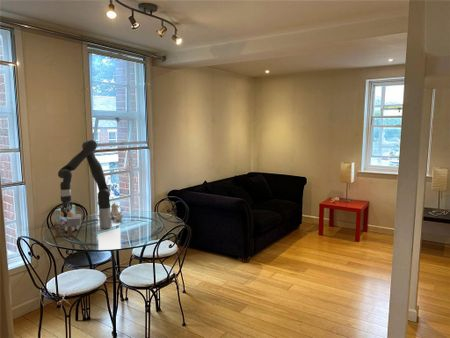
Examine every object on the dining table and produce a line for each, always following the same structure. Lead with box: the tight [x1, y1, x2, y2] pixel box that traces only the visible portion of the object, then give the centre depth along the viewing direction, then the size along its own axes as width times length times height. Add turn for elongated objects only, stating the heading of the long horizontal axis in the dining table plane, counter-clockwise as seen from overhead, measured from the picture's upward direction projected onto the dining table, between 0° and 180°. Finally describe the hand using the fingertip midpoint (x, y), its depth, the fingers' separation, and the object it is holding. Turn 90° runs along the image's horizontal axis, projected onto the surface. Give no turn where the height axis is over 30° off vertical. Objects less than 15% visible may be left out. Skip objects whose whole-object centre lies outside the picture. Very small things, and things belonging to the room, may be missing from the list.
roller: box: [61, 212, 73, 217], centre depth 260 cm, size 8×4×4 cm, turn 85°
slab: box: [66, 213, 82, 227], centre depth 277 cm, size 10×16×6 cm, turn 21°
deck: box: [54, 225, 74, 238], centre depth 269 cm, size 12×28×9 cm, turn 6°
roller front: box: [64, 225, 76, 232], centre depth 269 cm, size 7×4×4 cm, turn 93°
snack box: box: [54, 204, 76, 227], centre depth 294 cm, size 21×6×15 cm, turn 168°
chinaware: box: [97, 201, 125, 223], centre depth 307 cm, size 28×17×17 cm, turn 76°
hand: (66, 216), depth 260 cm, fingers closed on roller, 4 cm apart
